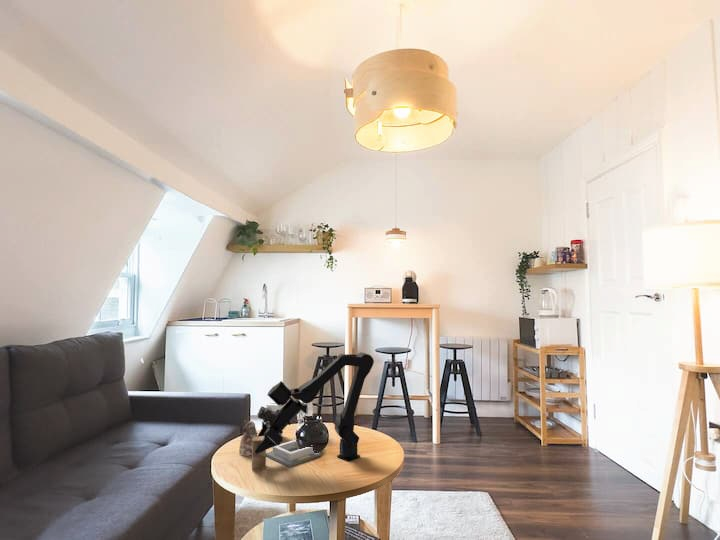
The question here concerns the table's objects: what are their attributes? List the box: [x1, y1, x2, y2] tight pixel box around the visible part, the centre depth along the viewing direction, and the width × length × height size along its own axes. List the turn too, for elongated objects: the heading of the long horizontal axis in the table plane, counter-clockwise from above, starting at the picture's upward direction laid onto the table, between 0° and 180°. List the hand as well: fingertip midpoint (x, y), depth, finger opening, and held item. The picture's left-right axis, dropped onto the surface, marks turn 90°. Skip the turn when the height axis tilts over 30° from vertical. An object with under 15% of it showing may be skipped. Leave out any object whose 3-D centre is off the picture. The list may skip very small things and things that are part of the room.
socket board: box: [266, 439, 322, 468], centre depth 154 cm, size 15×15×4 cm
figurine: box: [238, 420, 259, 457], centre depth 158 cm, size 7×7×12 cm
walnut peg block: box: [251, 435, 267, 471], centre depth 144 cm, size 4×4×10 cm
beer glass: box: [296, 400, 314, 426], centre depth 179 cm, size 7×7×15 cm
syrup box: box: [265, 401, 284, 432], centre depth 176 cm, size 6×6×14 cm
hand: (255, 448), depth 144 cm, fingers open, 9 cm apart
